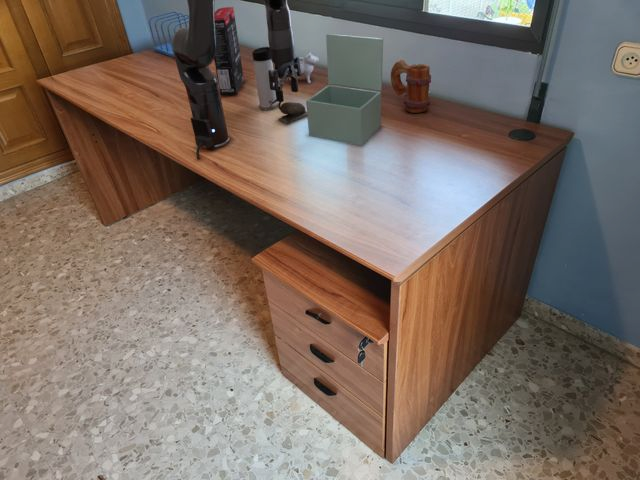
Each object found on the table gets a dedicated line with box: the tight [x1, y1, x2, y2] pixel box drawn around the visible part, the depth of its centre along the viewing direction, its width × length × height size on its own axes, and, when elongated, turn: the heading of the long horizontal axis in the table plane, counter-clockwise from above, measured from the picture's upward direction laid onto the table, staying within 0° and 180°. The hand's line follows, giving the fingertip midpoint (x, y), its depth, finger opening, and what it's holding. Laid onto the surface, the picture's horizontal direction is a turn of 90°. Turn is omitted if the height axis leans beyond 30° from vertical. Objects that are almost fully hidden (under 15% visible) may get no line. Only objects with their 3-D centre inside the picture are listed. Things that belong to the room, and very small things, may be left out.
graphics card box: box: [213, 6, 245, 96], centre depth 176 cm, size 17×7×27 cm, turn 178°
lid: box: [325, 33, 384, 92], centre depth 143 cm, size 15×18×6 cm
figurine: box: [268, 99, 308, 125], centre depth 155 cm, size 14×4×9 cm, turn 130°
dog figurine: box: [288, 51, 320, 85], centre depth 182 cm, size 5×13×11 cm, turn 95°
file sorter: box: [148, 11, 189, 59], centre depth 225 cm, size 25×17×15 cm
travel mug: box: [251, 46, 279, 111], centre depth 161 cm, size 6×7×20 cm
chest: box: [305, 84, 382, 147], centre depth 145 cm, size 14×18×11 cm
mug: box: [390, 59, 432, 114], centre depth 154 cm, size 15×8×15 cm, turn 47°
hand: (287, 96), depth 151 cm, fingers open, 8 cm apart
